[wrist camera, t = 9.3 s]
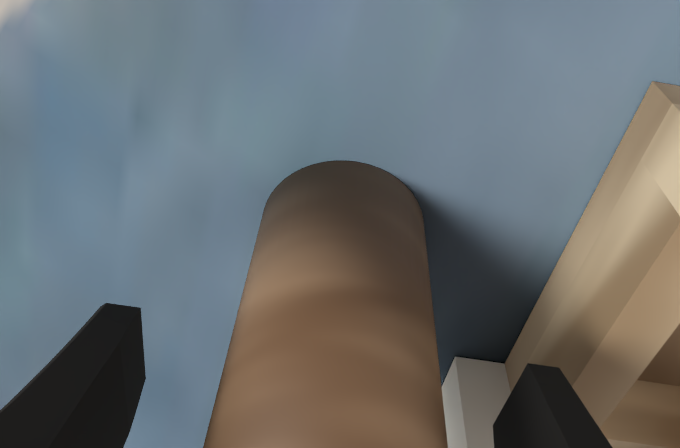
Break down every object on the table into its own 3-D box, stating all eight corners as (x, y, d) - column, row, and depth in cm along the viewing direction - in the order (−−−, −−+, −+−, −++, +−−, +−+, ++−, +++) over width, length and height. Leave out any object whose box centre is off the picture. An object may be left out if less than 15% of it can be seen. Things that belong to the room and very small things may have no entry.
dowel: (442, 176, 13) (503, 536, 7) (403, 298, 16) (422, 647, 10) (269, 147, 13) (171, 494, 7) (256, 275, 16) (175, 619, 9)
